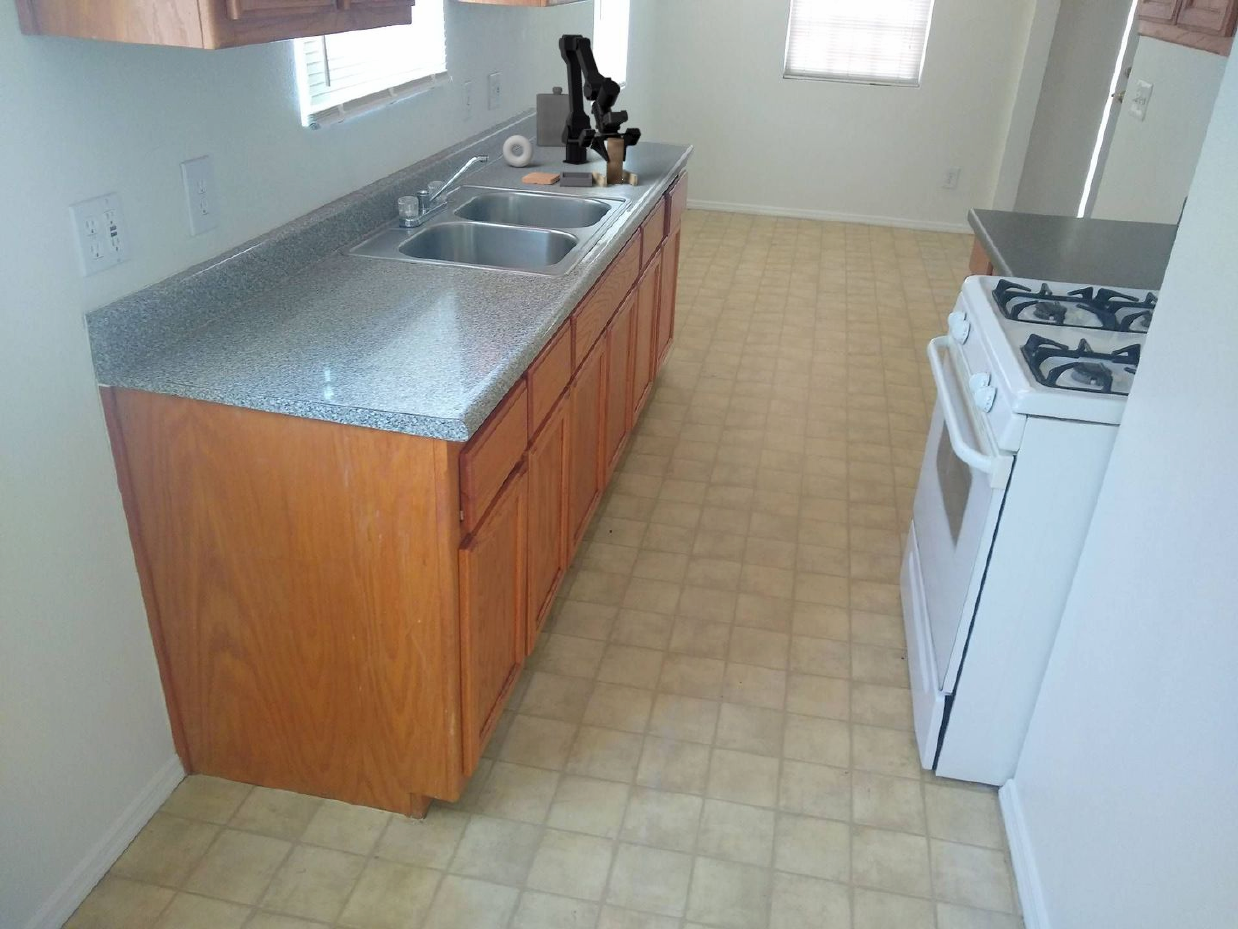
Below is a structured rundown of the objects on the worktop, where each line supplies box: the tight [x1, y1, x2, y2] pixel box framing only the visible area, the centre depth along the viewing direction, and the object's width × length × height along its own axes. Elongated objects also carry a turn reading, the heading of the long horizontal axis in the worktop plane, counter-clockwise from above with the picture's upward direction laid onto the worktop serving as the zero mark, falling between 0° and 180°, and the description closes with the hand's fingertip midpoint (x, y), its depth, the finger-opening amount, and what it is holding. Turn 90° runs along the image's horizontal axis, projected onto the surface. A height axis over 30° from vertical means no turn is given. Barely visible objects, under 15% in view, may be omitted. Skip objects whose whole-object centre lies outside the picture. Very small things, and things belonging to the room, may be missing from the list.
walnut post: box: [605, 138, 624, 185], centre depth 288 cm, size 5×5×13 cm
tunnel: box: [591, 168, 638, 188], centre depth 290 cm, size 10×11×3 cm
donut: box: [502, 134, 534, 168], centre depth 306 cm, size 10×4×10 cm, turn 87°
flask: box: [535, 86, 570, 148], centre depth 342 cm, size 15×6×20 cm, turn 96°
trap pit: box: [559, 171, 593, 188], centre depth 288 cm, size 10×10×2 cm
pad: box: [521, 171, 560, 185], centre depth 290 cm, size 9×9×2 cm
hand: (616, 161), depth 287 cm, fingers closed on walnut post, 5 cm apart
